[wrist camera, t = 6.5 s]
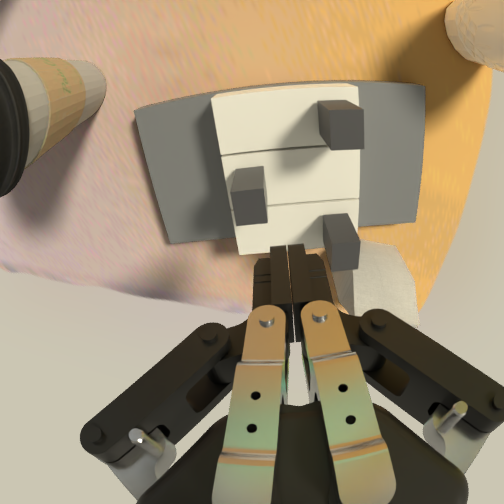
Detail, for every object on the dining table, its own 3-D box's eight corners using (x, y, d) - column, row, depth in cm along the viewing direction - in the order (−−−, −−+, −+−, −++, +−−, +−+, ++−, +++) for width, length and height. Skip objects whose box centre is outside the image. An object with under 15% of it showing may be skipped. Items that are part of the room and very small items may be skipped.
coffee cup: (135, 50, 20) (15, 61, 8) (111, 146, 26) (11, 231, 13) (53, 40, 19) (-71, 64, 6) (38, 128, 24) (-68, 194, 12)
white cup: (426, 33, 18) (496, 34, 10) (453, -21, 14) (520, -33, 6) (483, 84, 20) (553, 108, 11) (506, 31, 15) (575, 42, 7)
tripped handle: (235, 168, 21) (230, 191, 18) (263, 165, 21) (263, 188, 18) (240, 198, 23) (236, 226, 20) (267, 196, 23) (267, 223, 19)
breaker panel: (142, 106, 23) (90, 133, 16) (414, 83, 21) (475, 102, 13) (175, 232, 31) (149, 295, 23) (407, 212, 29) (447, 268, 21)
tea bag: (339, 235, 31) (363, 304, 22) (395, 245, 31) (429, 311, 23) (329, 263, 33) (346, 335, 25) (382, 271, 33) (410, 339, 25)
